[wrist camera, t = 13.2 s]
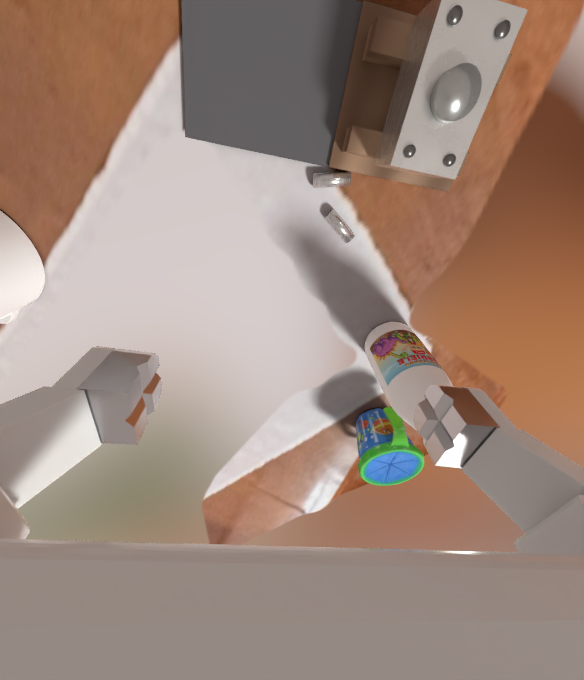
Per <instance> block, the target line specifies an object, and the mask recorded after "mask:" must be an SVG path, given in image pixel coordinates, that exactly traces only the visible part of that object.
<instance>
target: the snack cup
mask: <svg viewBox="0 0 584 680" xmlns="http://www.w3.org/2000/svg"><path fill="white" fill-rule="evenodd" d="M356 436H357V445H358V452H359V458H360V459H359V464H358V467H359V474H360V476H361V477H362V478H363V479H364V480H365V481H366V482H368V483H371V484H374V485H381V486H385V485H386V486H387V485H394V484H399V483H402V482H405V481H407V480H409V479H411V478H413V477H414V476H416V475H417V474H418V473H419V472H420V471H421V470H422V468H423V466H424V456H423V454H422V452H421V451H420V450H419V449H418V448H417V447H415V446H414V445H413V443H412V442H411V440H410V439H409V437H408V436H407V434H406V431H405V427H404V424H403V421H402V418H401V417H400V416H398V414H397V413H396V412H395V411H394V410H393V408H392V407H386V408H384V409H381V408H376V409H373V410H369V411H367V412H365V413H363V414H361V415H360V416H359V418H358V419H357V421H356Z"/></svg>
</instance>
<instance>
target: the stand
mask: <svg viewBox="0 0 584 680" xmlns="http://www.w3.org/2000/svg"><path fill="white" fill-rule="evenodd" d="M416 16H417V15H413V14H410V13H407V12H403V11H400V10H396V9H393V8H390V7H386V6H383V5H379V4H376V3H373V2H369V1H366V0H363V2H362V7H361V12H360V17H359V22H358V27H357V31H356V36H355V41H354V46H353V51H352V55H351V60H350V65H349V70H348V75H347V80H346V84H345V89H344V94H343V99H342V104H341V109H340V113H339V118H338V123H337V128H336V133H335V137H334V142H333V147H332V152H331V157H330V162H329V166H328V167H332V168H336V169H341V170H346V171H350V172H355V173H360V174H365V175H370V176H374V177H379V178H384V179H389V180H394V181H398V182H403V183H408V184H413V185H418V186H422V187H427V188H432V189H437V190H442V191H447V192H448V190H449V188H450V186H451V183H452V181H453V179H446V178H436V177H427V176H423V175H418V174H413V173H408V172H404V171H399V170H394V169H390V168H385V167H380V166H376V165H373V163H374V160H375V156H376V153H377V149H378V146H379V142H380V138H381V135H382V131H383V128H384V124H385V121H386V117H387V114H388V110H389V106H390V103H391V99H392V96H393V92H394V89H395V85H396V81H397V78H398V74H399V71H400V67H401V64H402V60H403V57H404V53H405V49H406V46H407V42H408V39H409V35H410V32H411V28H412V25H413V21H414V18H415V17H416ZM511 55H512V54H511V53H509V55H508V57H507V59H506V62H505V64H504V66H503V69H502V71H501V73H500V76H499V78H498V80H497V83H496V85H495V86H497V85H499V83H500V80H501V78H502V76H503V73H504V71H505V69H506V66H507V64H508V62H509V59H510V57H511ZM468 154H469V152H467V153H466V155H465V158H464V160H463V162H462V165H461V167H460V169H459V172H458V174H457V176H459V175H460V173H461V170H462V168H463V166H464V164H465V161H466V159H467V157H468Z"/></svg>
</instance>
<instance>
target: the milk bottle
mask: <svg viewBox="0 0 584 680" xmlns="http://www.w3.org/2000/svg"><path fill="white" fill-rule="evenodd" d="M365 352H366V355H367V357H368V359H369V362H370V364H371V366H372V368H373V370H374V373H375V375H376V377H377V379H378V381H379V383H380V385H381V388H382V390H383V392H384V394H385V396H386V398H387V400H388V402H389V404H390V405H391V407H392V408H393V410H394V411H395V412H396V413H397V414H398V416H400V417H401V418H402V419H403V420H404V421H405V422H407V423H408V424H409V425H411V426H412V427H413V428H414V429H416V428H415V425H414V420H413V418H414V410H415V408H416V407H417V405H418V403H420V402H422V401H423V400H425V396H424V393H425V391H426V389H427V388H428V387H429V386H431V385H432V384H433V385H443V386H452V387H453V385H452V383H451V381H450V379H449V378H448V376H447V375H446V373H445V372H444V370H443V369H442V368H441V366H440V365H439V364H438V362H437V361H436V360H435V358H434V357H433V356H432V355H431V353H430V352H429V351H428V349H427V348H426V347H425V346H424V344H423V343H422V342H421V341H420V339H419V338H418V337H417V336H416V334H415V333H414V332H413V331H412V330H411V328H410V327H409V326H407V325H405V324H403V323H400V322H387V323H383V324H381V325H379V326H377V327H376V328H374V329H373V330H372V331H371V332H370V333H369V335H368V336H367V338H366V341H365ZM425 442H426V439H424V440H423V443H424V445H425ZM443 467H446V466H443Z"/></svg>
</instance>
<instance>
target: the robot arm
mask: <svg viewBox="0 0 584 680" xmlns="http://www.w3.org/2000/svg"><path fill="white" fill-rule="evenodd" d="M44 283H45V273H44V268H43V264H42V261H41V259H40V256H39V254H38V252H37V250H36V249H35V247H34V245H33V244H32V242H31V241H30V239H29V238H28V237H27V236H26V234H25V233H24V232H23V231H22V230H21V229H20V228H19V226H18V225H17V224H16V223H15V222H13V221H12V220H11V219H10V218H9V217H8V216H7V215H5V214H4V213H3V212H2V211H0V323H1V324H6V323H9V322H11V321H13V320H15V319H16V317H17V316H18V314H19V311H20V309H21V308H22V307H24V306H26V305H28V304H30V303H32V302H33V301H34V300H36V299H37V298H38V297H39V295H40V294H41V292H42V290H43V287H44ZM159 366H160V365H159V358H158V356H157V355H156V354H155V353H147V352H139V351H132V350H125V349H115V348H107V347H99V346H97V347H94V348H91V349H90V350H89V351H88V352H87V353H86V354H85V355H84V356H83V357H82V358H81V359H80V360H79V361H78V362H77V363H76V364H75V365H74V366H73V367H72V368H71V369H70V370H69V371H68V372H67V373H66V374H65V375H64V376H63V377H62V378H60V379H59V381H58V382H56V383H55V385H53V386H52V387H42V388H40V389H37V390H35V391H32V392H30V393H27V394H25V395H23V396H20V397H18V398H15V399H13V400H10V401H8V402H6V403H3V404H1V405H0V680H584V468H583V467H581V466H580V465H578V464H576V463H575V462H573V461H572V460H570V459H568V458H567V457H565V456H564V455H562V454H560V453H559V452H557V451H555V450H554V449H552V448H551V447H549V446H547V445H546V444H544V443H543V442H541V441H539V440H538V439H536V438H534V437H533V436H531V435H530V434H528V433H526V432H525V431H523V430H518V429H517V428H516V427H515V426H514V425H513V423H512V422H511V421H510V420H509V419H508V418H507V417H506V416H505V415H504V414H503V412H502V411H501V410H500V409H499V408H498V407H497V406H496V405H495V404H494V402H493V401H492V400H491V399H490V398H489V397H488V396H487V395H486V394H485V392H484V391H482V390H480V389H478V388H467V387H452V386H443V385H433V384H432V385H431V386H429V387H428V388H427V389H426V391H425V393H424V396H425V400H423V401H422V402H420V403H418V405H417V407H416V408H415V410H414V418H413V420H414V425H415V428H416V430H417V432H418V433H419V434H420V435H421V436H422V437H423V438H424V439H426V442H425V447H426V449H427V451H428V453H429V455H430V457H431V459H432V461H433V463H434V465H436V466H446V467H456V468H462V469H461V470H462V471H463V472H464V473H465V474H466V475H467V476H468V477H469V478H470V479H471V480H472V481H473V482H474V483H475V484H476V485H477V486H478V487H479V488H480V489H482V490H483V491H484V492H485V493H486V494H487V495H488V496H489V497H490V498H491V499H492V500H493V501H494V502H495V503H496V504H497V505H498V506H499V507H500V508H501V509H502V510H503V511H504V512H505V513H506V514H507V515H508V516H509V517H510V518H511V519H512V520H513V521H514V522H515V523H516V524H517V525H518V526H519V527H520V528H521V529H522V530H523V531H524V532H525V534H524V535H522V536H521V537H520V538H518V539H517V540H516V541H515V547H516V549H517V551H518V552H519V553H513V552H476V551H440V550H438V551H437V550H404V549H403V550H400V549H367V548H331V547H293V546H292V547H291V546H258V545H256V546H255V545H221V544H183V543H145V542H143V543H142V542H107V541H69V540H68V541H67V540H33V539H25V538H26V537H27V535H28V534H29V532H30V528H29V524H28V523H27V521H26V520H25V519H24V518H23V516H22V515H21V513H20V512H19V511H18V508H19V507H20V506H22V505H23V504H24V503H25V502H27V501H28V500H30V499H31V498H32V497H34V496H35V495H36V494H38V493H39V492H40V491H42V490H43V489H44V488H45V487H47V486H48V485H49V484H51V483H52V482H53V481H55V480H56V479H57V478H59V477H60V476H61V475H63V474H64V473H65V472H67V471H68V470H69V469H70V468H72V467H73V466H74V465H76V464H77V463H78V462H80V461H81V460H82V459H84V458H85V457H86V456H88V455H89V454H90V453H92V452H93V451H94V450H95V449H97V448H98V447H99V446H101V443H111V444H135V445H137V444H138V442H139V440H140V438H141V436H142V434H143V433H144V431H145V429H146V427H147V425H148V420H147V415H149V414H150V413H152V412H153V411H155V409H156V407H157V404H158V402H159V398H160V395H161V386H162V384H161V378H160V377H159V375H158V374H157V373H156V371H157V369H158V368H159Z"/></svg>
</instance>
